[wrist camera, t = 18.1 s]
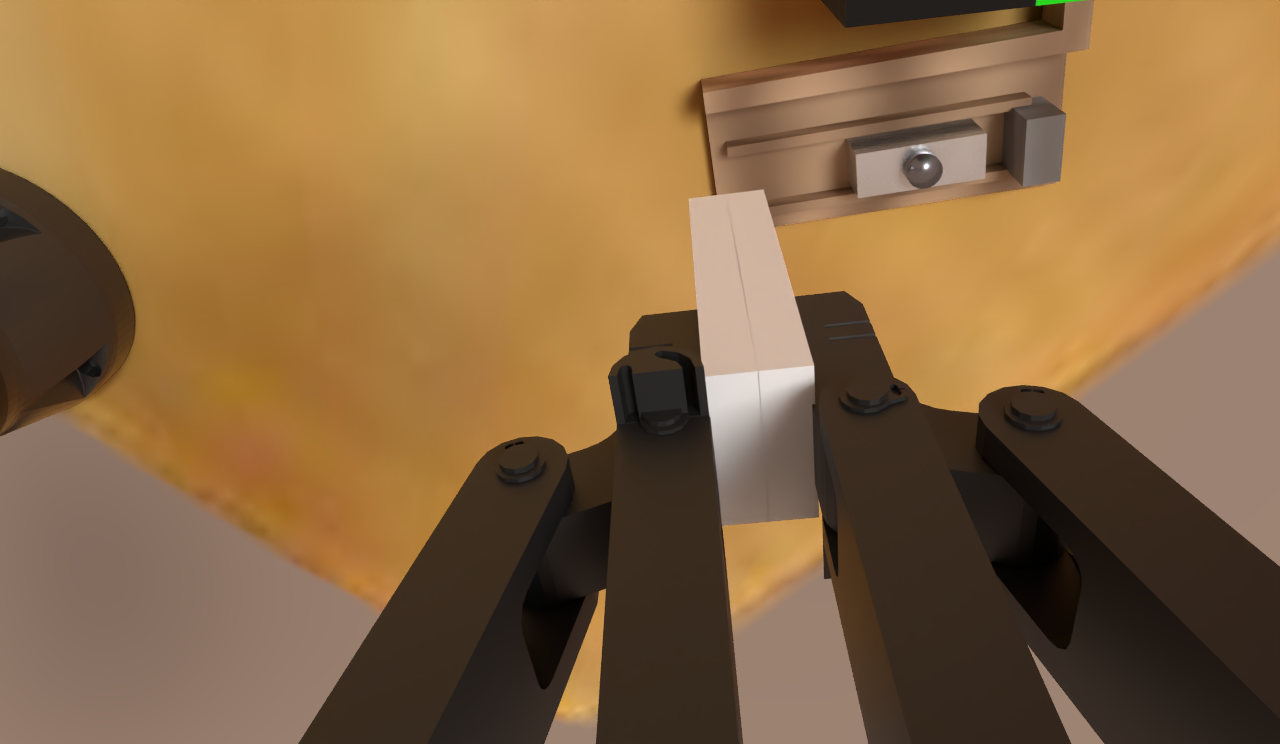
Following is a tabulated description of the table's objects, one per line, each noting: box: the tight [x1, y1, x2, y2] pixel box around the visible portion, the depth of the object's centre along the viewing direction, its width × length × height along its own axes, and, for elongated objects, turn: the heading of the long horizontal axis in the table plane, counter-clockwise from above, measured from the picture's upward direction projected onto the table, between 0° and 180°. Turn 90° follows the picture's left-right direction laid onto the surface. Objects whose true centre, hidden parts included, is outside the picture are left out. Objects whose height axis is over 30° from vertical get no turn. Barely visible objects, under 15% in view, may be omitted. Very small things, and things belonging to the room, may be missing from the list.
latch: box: [846, 118, 987, 198], centre depth 41 cm, size 6×2×3 cm, turn 100°
